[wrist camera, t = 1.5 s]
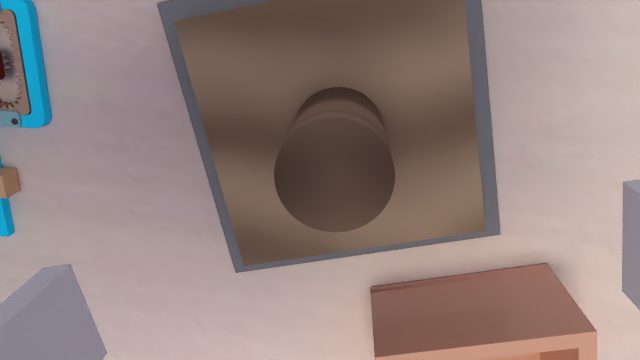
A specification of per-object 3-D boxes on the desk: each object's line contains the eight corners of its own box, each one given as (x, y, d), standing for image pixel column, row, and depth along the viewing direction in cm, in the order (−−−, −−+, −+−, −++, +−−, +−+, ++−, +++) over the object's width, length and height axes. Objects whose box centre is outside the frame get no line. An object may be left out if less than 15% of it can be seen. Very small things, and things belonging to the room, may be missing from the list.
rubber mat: (160, 3, 24) (156, 3, 23) (472, -66, 22) (475, -68, 21) (237, 268, 29) (235, 272, 28) (497, 230, 27) (500, 234, 26)
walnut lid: (182, 20, 24) (107, 30, 16) (455, -38, 22) (505, -56, 15) (248, 255, 28) (211, 344, 21) (479, 220, 26) (528, 304, 19)
